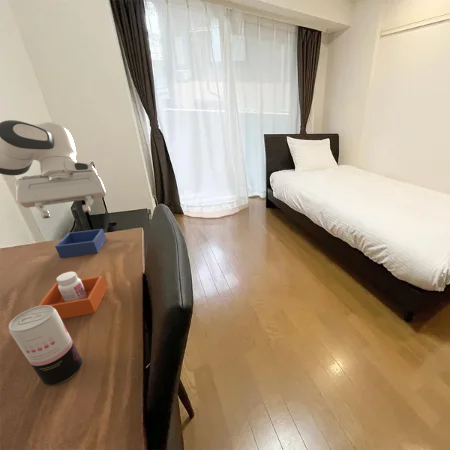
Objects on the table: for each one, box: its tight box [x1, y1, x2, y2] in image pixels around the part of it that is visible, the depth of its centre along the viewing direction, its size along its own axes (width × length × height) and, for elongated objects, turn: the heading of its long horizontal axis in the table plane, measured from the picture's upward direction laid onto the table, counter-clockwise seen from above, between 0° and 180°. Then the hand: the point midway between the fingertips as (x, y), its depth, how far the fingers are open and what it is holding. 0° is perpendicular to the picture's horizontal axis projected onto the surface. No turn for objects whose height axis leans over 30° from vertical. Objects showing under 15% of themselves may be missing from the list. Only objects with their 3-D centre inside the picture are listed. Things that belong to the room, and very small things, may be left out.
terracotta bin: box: [37, 275, 108, 320], centre depth 72 cm, size 11×10×5 cm
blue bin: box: [54, 228, 107, 259], centre depth 98 cm, size 11×10×5 cm
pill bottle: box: [55, 271, 88, 302], centre depth 71 cm, size 5×5×8 cm
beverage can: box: [8, 305, 83, 386], centre depth 53 cm, size 7×7×15 cm
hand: (67, 214), depth 79 cm, fingers open, 8 cm apart
